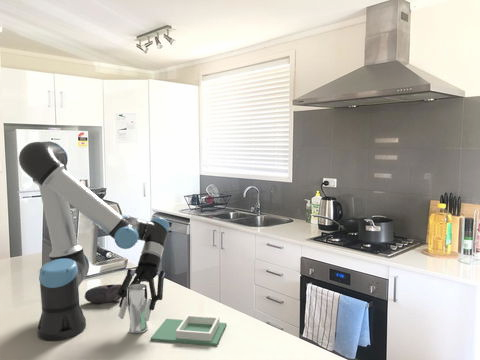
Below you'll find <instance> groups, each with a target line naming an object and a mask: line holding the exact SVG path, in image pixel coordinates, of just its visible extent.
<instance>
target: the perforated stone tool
mask: <svg viewBox="0 0 480 360" xmlns="http://www.w3.org/2000/svg"><path fill="white" fill-rule="evenodd" d="M121 285H122V283H121V284H117V283H116V284H115V283H114V284H104V285H99V286H95V287H94V286H93V287H92V288H89V289H88V290H87V291H85V293H84V299H85V300H86V301H87V302H89V303H93V304H97V303H99V304H109V303H112V302H114V303H116V302H119V300H121V297H120V296H119V295H118V294H117V293H118V291H119V289H120V287H121Z"/></svg>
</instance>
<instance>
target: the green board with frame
mask: <svg viewBox="0 0 480 360" xmlns="http://www.w3.org/2000/svg"><path fill="white" fill-rule="evenodd" d="M226 327H227V322H220V317H219V316H210V315H209V316H208V315H207V316H206V315H193V314H186V316H185V318H184V319H178V318H177V319H176V318H166V319H164V321H163V322H162V324H161V325H160V326H159V327H158V328H157V329H156V331H155V332H154V333H153V334H152V336H151V337H150V341H154V342H165V343H174V344H175V343H176V344H187V345H201V346H212V347H218V345H219V342H220V341H221V338H222V336H223V335H224V331H225V329H226Z"/></svg>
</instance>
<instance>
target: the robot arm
mask: <svg viewBox="0 0 480 360" xmlns="http://www.w3.org/2000/svg"><path fill="white" fill-rule="evenodd" d="M68 159H69V157H68V153H67V151H66V149H65V148H64V147H63V146H61V145H60V144H58V143H56V142H53V141H33V142H32V141H31V142H30V143H28V144H26V145H25V146H24V147H23V148H22V149H21V150H20V152H19V155H18V163H19V166H20V168H21V169H22V170H23V172H24V173H25V174H26V175H27V176H29V177H30V178H31V179H32V181H33V183H34V184H36V185H37V186H38V187H39V191H40V197H41V201H42V205H43V206H42V207H43V211H44V217H45V220H46V225H47V229H48V234H49V239H50V243H51V248H52V249H51V252H49V255H48V257H49V261H48V262H45V264H43V265H42V266H41V268H40V269H39V275H38V277H39V278H38V279H39V286H40V287H39V288H40V301H41V302H40V303H41V315H40V318H39V322H38V326H37V329H36V331H37V337H38V338H39V339H41V340H43V341H49V342H50V341H51V342H52V341H53V342H54V341H63V340H65V339H69V338H73V337H75V336H77V335H79V334H81V333H82V332H83V331H84V330H85V329H86V327H87V322H86V321H87V320H86V316H85V315H84V312H83V310H82V308H81V306H80V292H79V287H80V285H81V283H83V281H84V280H85V278H86V277H87V275H88V273H89V269H90V261H89V259H88V257H87V255H86V254H85V252H84V248H83V246H82V245H80V244H79V243H78V240H77V235H76V230H75V225H74V221H73V216H72V215H73V214H72V210H71V206H72V207H73V208H75V209H76V210H77V211H78V212H80V213H81V214H82V215H83V216H85V217H86V218H87V219H89V221H91V222H93V223H94V224H95V225H96V226H97V227H98V228H100V229H101V230H103V231H104V233H106V234H107V235H109V236H110V237H111V238H112V239H114V243H115V245H116V246H117V247H118V248H120V249H123V250H129V249H131V248H133V247H134V246H136V244H137V243H138V241H142V242H144V243H143V247H142V250H141V252H140V253H141V254H140V256H139V260H138V263H137V266H136V268H135V269H130V268H128V269H127V273H126V276H125V278H124V279H123V282H122V283H121V287H120V289H119V291H118V293H117V294H118V295H119V296H120V297H121V299H120V302H119V305H118V307H119V308H120V309H119V312H118V315H117V316H118V317H119V318H120V319H121V320H124V318H125V315H126V312H127V311H126V310H127V309H128V307H127V287H128V286H130V285H133V284H142V282H143V283H144V282H145V283H148V286H149V292H150V298H148V304H147V307H146V311H145V315H144V319H145V320H146V322H149V320H150V317H151V316H150V315H151V313H152V311H154V310H155V307H156V305H157V304H156V303H157V301H162V300H163V296H164V295H163V294H164V279H165V277H166V273H165V272H164V270H159V268H160V265H161V262H162V261H161V259H162V258H163V257H162V256H163V253H164V249H165V245H166V242H167V240H168V239H167V238H168V236H169V231H170V223H169V221H168V220H167V219H165V218H164V217H163V218H162V217H154V218H151V220H150V221H148V220H144V219H141V218H136V217H132V216H131V215H126V214H121V213H119V212H117V211H116V210H115V209H114V208H113V207H112V206H110V205H109V204H108V203H106V202H105V201H104V200H103V199H102V198H100V197H99V196H98V195H97V194H96V193H94V192H93V191H91V189H89V188H88V187H86V185H84V184H83V183H82V182H81V181H79V180H78V179H77V178H76V177H74V176H73V175H72V174H71V173H70V172H69V171H68V169H67V165H68V161H69V160H68ZM135 274H136V275H135ZM156 277H157V289H156V288H155V280H154V279H155V278H156ZM132 279H133V280H132ZM156 290H157V291H156Z"/></svg>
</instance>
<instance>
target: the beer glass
mask: <svg viewBox="0 0 480 360" xmlns="http://www.w3.org/2000/svg"><path fill="white" fill-rule="evenodd" d="M129 285H130V284H129ZM148 294H149V293H148V285H147V284H146V283H145V284H144V283H140V284H133V285H130V286H128V287H127V310H128V315H129V321H130V323H129V329H128V330H129V332H130V333H131V334H134V335H135V334H136V335H138V334H142V333H145V332H147V331H148V329H149V327H148V324H147V322H148V321H146V320H145V319H144V315H145V311H146V307H147V304H148V300H149V296H148Z"/></svg>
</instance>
